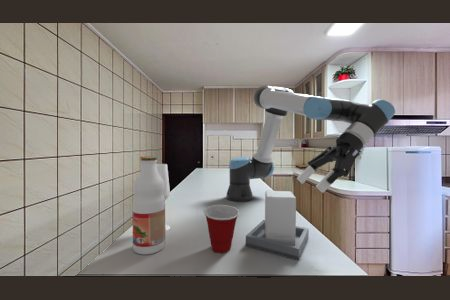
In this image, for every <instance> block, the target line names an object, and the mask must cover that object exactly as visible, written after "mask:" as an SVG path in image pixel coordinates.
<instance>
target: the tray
mask: <svg viewBox="0 0 450 300" xmlns="http://www.w3.org/2000/svg"><path fill="white" fill-rule="evenodd" d="M308 240H309V228H308V227H307V228H306V227H301V226H297V225H296V234H295V246H293V245H289V244H285V243H281V242H276V241H272V240H268V239H265V219H263V220H262V221H261V222H259V224H257V225H256V226H255V227H254V228H253V229H252V230H250V232H248V233H247V234H246V235H245V247H249V248H252V249H255V250H258V251H259V250H260V251H263V252H266V253H270V254H274V255H278V256H280V257H281V256H282V257H285V258H287V259H288V258H289V259H292V260H296V261H300V258H301V256H302V254H303V252H304V250H305V246H306V244H307V242H308Z"/></svg>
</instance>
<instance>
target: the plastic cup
mask: <svg viewBox="0 0 450 300" xmlns="http://www.w3.org/2000/svg"><path fill="white" fill-rule="evenodd" d="M203 214H204V216H205V218H206V223H207V230H208V236H209V240H210V245H211V250H212V251H213V252H214V253H217V254H223V253H224V254H225V253H228V252H229V251H230V250H231V248H232V244H233V237H234V232H235V227H236V222H237V219H238V217H239V215H240V211H239V209H238V208H236V207H234V206H232V205H228V204H213V205H209V206H207V207H205V208H204V209H203Z"/></svg>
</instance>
